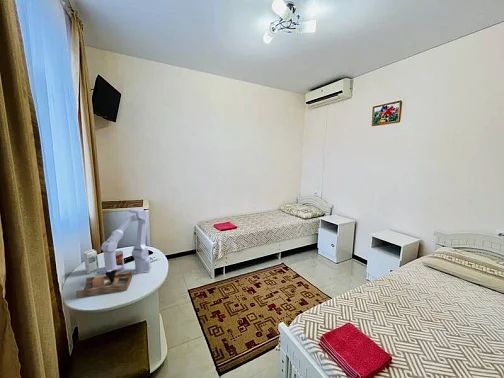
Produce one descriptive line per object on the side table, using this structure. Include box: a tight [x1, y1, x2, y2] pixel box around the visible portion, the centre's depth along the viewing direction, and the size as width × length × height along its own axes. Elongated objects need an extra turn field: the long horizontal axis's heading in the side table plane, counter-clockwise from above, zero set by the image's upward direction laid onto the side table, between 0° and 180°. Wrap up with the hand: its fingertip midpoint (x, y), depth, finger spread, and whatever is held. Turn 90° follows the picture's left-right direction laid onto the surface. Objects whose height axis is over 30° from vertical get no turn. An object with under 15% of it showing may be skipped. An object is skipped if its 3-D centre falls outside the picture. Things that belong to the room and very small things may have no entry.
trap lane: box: [75, 271, 133, 299], centre depth 131 cm, size 25×14×4 cm, turn 107°
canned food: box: [115, 250, 125, 273], centre depth 151 cm, size 8×8×12 cm
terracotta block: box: [92, 275, 104, 288], centre depth 130 cm, size 4×4×4 cm
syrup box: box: [83, 249, 99, 275], centre depth 148 cm, size 6×6×14 cm
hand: (112, 281), depth 132 cm, fingers closed
